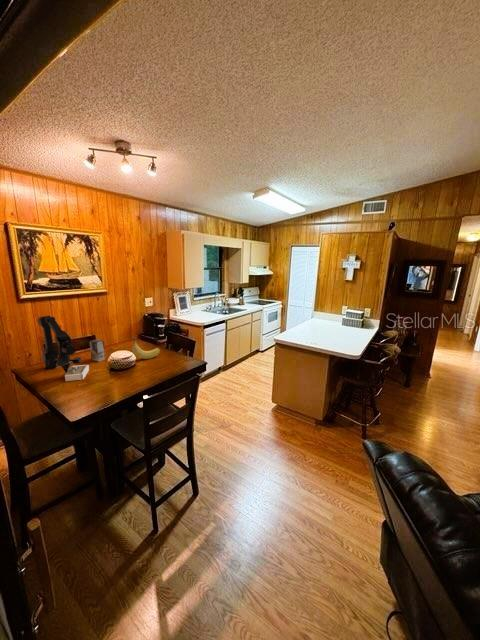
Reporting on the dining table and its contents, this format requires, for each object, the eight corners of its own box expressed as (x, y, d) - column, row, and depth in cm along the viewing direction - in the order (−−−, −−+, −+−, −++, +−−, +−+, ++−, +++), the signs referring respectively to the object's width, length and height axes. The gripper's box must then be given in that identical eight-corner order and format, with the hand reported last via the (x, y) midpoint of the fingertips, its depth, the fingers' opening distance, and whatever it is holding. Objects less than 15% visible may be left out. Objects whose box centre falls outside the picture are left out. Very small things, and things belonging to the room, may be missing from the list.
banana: (158, 354, 232) (157, 332, 227) (161, 356, 227) (160, 334, 223) (132, 360, 218) (130, 336, 214) (134, 362, 214) (132, 338, 209)
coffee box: (105, 359, 219) (103, 340, 215) (98, 361, 213) (96, 342, 209) (98, 357, 222) (96, 338, 219) (91, 359, 217) (89, 340, 213)
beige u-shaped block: (65, 381, 179) (64, 375, 178) (73, 371, 195) (72, 365, 194) (83, 379, 182) (82, 374, 181) (89, 369, 198) (88, 364, 197)
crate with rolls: (66, 379, 182) (65, 372, 180) (71, 372, 193) (70, 366, 192) (77, 378, 183) (76, 372, 182) (81, 371, 195) (81, 365, 193)
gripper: (43, 356, 172) (46, 378, 176) (75, 354, 178) (78, 376, 181) (50, 351, 183) (52, 372, 186) (80, 349, 188) (82, 369, 192)
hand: (66, 372), depth 186 cm, fingers closed
